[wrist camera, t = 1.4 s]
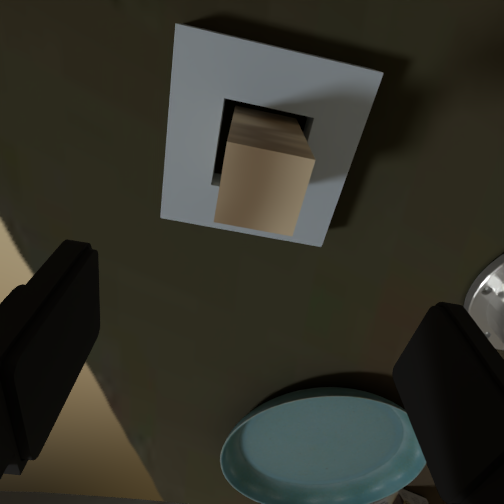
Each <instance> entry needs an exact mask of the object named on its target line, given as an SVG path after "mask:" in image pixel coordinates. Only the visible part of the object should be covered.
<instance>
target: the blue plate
mask: <svg viewBox="0 0 504 504" xmlns="http://www.w3.org/2000/svg"><path fill="white" fill-rule="evenodd" d="M220 464H221V469H222V472H223V474H224V476H225V478H226V479H227V481H228V482H229V483H230V484H231V485H232V486H233V487H234V488H235V489H236V490H237V491H239V492H240V493H241V494H243V495H244V496H246V497H248V498H250V499H252V500H254V501H256V502H259V503H262V504H369V503H373V502H375V501H378V500H381V499H383V498H385V497H388V496H390V495H392V494H394V493H396V492H397V491H399V490H400V489H402V488H404V487H405V486H406V485H408V484H409V483H410V482H411V481H413V480H414V479H415V478H416V477H417V476H418V474H419V473H420V472H421V471H422V469H423V468H424V466H425V465H426V460H425V458H424V455H423V453H422V450H421V448H420V445H419V443H418V440H417V438H416V435H415V433H414V430H413V428H412V425H411V423H410V420H409V418H408V415H407V413H406V410H405V409H403V408H402V407H400V406H399V405H397V404H395V403H393V402H392V401H390V400H388V399H385V398H383V397H381V396H378V395H376V394H372V393H369V392H365V391H361V390H356V389H350V388H340V387H319V388H310V389H304V390H299V391H294V392H291V393H287V394H284V395H281V396H279V397H276V398H274V399H272V400H269V401H267V402H266V403H264V404H262V405H260V406H258V407H257V408H255V409H254V410H252V411H251V412H250V413H249V414H247V415H246V416H245V417H244V418H243V419H242V420H241V421H240V422H239V423H238V424H237V425H236V426H235V427H234V429H233V430H232V431H231V433H230V434H229V436H228V437H227V439H226V441H225V443H224V445H223V448H222V451H221V455H220Z"/></svg>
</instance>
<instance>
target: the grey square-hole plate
mask: <svg viewBox="0 0 504 504" xmlns="http://www.w3.org/2000/svg"><path fill="white" fill-rule="evenodd" d="M383 74H384V73H383V72H380V71H377V70H374V69H371V68H367V67H363V66H359V65H355V64H350V63H346V62H342V61H338V60H333V59H329V58H325V57H321V56H317V55H312V54H308V53H304V52H300V51H296V50H291V49H287V48H283V47H279V46H275V45H270V44H266V43H262V42H258V41H254V40H249V39H245V38H241V37H237V36H232V35H228V34H224V33H220V32H216V31H211V30H207V29H203V28H199V27H195V26H190V25H186V24H178V23H176V24H175V36H174V49H173V62H172V75H171V88H170V101H169V113H168V126H167V139H166V152H165V165H164V178H163V191H162V203H161V216H160V218H164V219H169V220H175V221H180V222H186V223H191V224H197V225H202V226H208V227H214V228H219V229H225V230H230V231H236V232H241V233H247V234H252V235H258V236H263V237H269V238H274V239H280V240H285V241H291V242H296V243H302V244H307V245H313V246H319V247H321V246H322V244H323V241H324V238H325V235H326V232H327V230H328V227H329V224H330V221H331V219H332V216H333V213H334V210H335V207H336V205H337V202H338V199H339V196H340V193H341V191H342V188H343V185H344V182H345V180H346V177H347V174H348V171H349V168H350V166H351V163H352V160H353V157H354V154H355V152H356V149H357V146H358V143H359V141H360V138H361V135H362V132H363V129H364V127H365V124H366V121H367V118H368V115H369V113H370V110H371V107H372V104H373V102H374V99H375V96H376V93H377V90H378V88H379V85H380V82H381V79H382V76H383ZM226 99H230V100H235V101H239V102H244V103H248V104H253V105H258V106H262V107H267V108H271V109H276V110H280V111H285V112H290V113H294V114H299V115H303V116H308V117H307V120H306V124H305V128H304V131H303V134H304V136H305V138H306V140H307V143H308V145H309V147H310V149H311V151H312V153H313V155H314V158H315V164H314V167H313V170H312V173H311V177H310V180H309V183H308V187H307V190H306V193H305V197H304V200H303V203H302V206H301V210H300V213H299V216H298V220H297V223H296V226H295V230H294V233H293V236H287V235H281V234H276V233H270V232H265V231H259V230H254V229H248V228H243V227H237V226H232V225H226V224H221V223H215V222H214V217H215V211H216V205H217V199H218V193H219V187H220V181H221V175H222V174H218V173H214V172H215V165H216V159H217V152H218V146H219V139H220V133H221V126H222V120H223V113H224V107H225V101H226Z"/></svg>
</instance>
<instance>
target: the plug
mask: <svg viewBox="0 0 504 504" xmlns="http://www.w3.org/2000/svg"><path fill="white" fill-rule="evenodd" d="M314 164H315V158H314V155H313V153H312V151H311V149H310V147H309V145H308V143H307V140H306V138H305V136H304V134H303V132H302V130H301V128H300V125H299V123H298V121H297V119H296V118H291V117H287V116H282V115H278V114H273V113H268V112H264V111H259V110H255V109H250V108H245V107H241V106H236V105H235V110H234V114H233V118H232V122H231V127H230V131H229V135H228V139H227V145H226V151H225V157H224V163H223V169H222V175H221V181H220V187H219V193H218V199H217V205H216V211H215V217H214V222H215V223H221V224H226V225H232V226H237V227H243V228H248V229H254V230H259V231H265V232H270V233H276V234H281V235H287V236H293V233H294V230H295V226H296V223H297V220H298V216H299V213H300V210H301V206H302V203H303V200H304V197H305V193H306V190H307V187H308V183H309V180H310V177H311V173H312V170H313V167H314Z"/></svg>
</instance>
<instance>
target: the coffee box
mask: <svg viewBox="0 0 504 504" xmlns="http://www.w3.org/2000/svg"><path fill="white" fill-rule="evenodd" d="M369 504H429V503H428V501H427V499H426V498H424V497H421V496H419V495H417V494H414V493H412V492H409V491H407V490H404V489H400V490H399V491H397V492H396V493H394V494H392V495H390V496H388V497H385V498H383V499H381V500H378V501H375V502H373V503H369Z"/></svg>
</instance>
